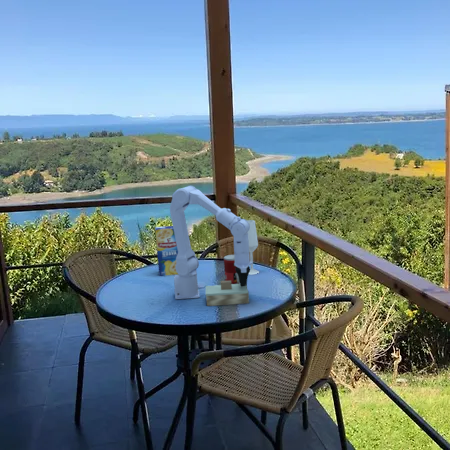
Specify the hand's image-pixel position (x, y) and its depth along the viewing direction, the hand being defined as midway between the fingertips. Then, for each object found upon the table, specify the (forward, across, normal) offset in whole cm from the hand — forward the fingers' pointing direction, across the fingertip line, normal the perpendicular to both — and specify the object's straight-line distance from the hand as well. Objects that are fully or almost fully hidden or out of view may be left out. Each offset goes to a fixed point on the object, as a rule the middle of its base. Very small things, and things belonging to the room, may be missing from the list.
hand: (243, 285), depth 197 cm
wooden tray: (+5, 0, +6) cm, 8 cm away
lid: (+1, 0, +7) cm, 7 cm away
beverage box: (+6, +45, +32) cm, 55 cm away
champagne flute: (+6, +37, -6) cm, 38 cm away
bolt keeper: (+5, +10, 0) cm, 11 cm away
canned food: (+6, +25, +2) cm, 26 cm away
